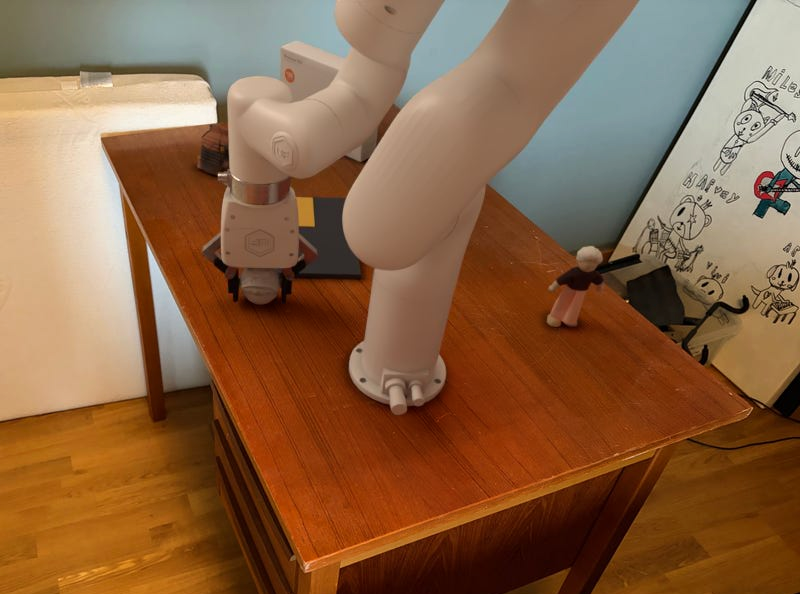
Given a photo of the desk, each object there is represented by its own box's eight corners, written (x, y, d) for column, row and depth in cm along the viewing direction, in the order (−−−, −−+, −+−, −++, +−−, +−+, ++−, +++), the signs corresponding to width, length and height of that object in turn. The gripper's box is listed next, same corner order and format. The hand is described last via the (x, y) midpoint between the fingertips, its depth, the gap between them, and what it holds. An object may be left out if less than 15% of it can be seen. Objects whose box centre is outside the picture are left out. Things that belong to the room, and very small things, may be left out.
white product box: (277, 127, 140) (278, 45, 129) (295, 119, 143) (298, 38, 132) (359, 164, 131) (368, 79, 120) (376, 154, 134) (387, 71, 123)
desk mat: (360, 278, 104) (361, 273, 104) (254, 276, 103) (254, 271, 103) (349, 202, 120) (350, 197, 120) (257, 199, 119) (257, 194, 118)
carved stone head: (236, 316, 96) (234, 275, 92) (241, 285, 101) (240, 245, 97) (279, 319, 96) (280, 278, 92) (283, 288, 102) (284, 248, 97)
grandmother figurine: (547, 332, 98) (576, 259, 89) (534, 315, 100) (561, 242, 92) (595, 326, 100) (627, 253, 91) (581, 309, 102) (611, 236, 94)
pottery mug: (185, 163, 128) (197, 118, 125) (229, 176, 133) (241, 133, 131) (212, 176, 119) (225, 128, 116) (258, 190, 124) (272, 144, 122)
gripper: (187, 196, 83) (196, 312, 95) (331, 200, 84) (321, 314, 96) (192, 165, 88) (200, 279, 100) (327, 170, 89) (319, 281, 102)
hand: (260, 295), depth 98 cm, fingers closed on carved stone head, 6 cm apart
